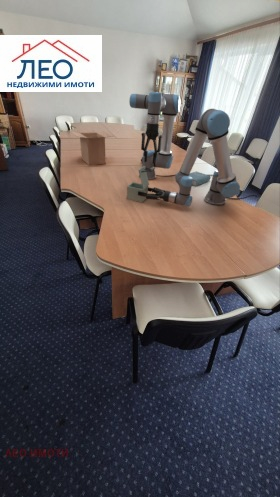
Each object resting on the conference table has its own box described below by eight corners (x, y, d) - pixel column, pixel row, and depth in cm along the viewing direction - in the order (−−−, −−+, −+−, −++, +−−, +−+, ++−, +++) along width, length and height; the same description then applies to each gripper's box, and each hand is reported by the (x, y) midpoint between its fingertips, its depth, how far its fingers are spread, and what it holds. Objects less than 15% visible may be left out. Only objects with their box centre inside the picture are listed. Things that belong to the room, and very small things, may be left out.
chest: (126, 198, 164) (127, 186, 159) (132, 194, 172) (132, 182, 166) (142, 202, 161) (143, 189, 155) (147, 197, 168) (148, 185, 163)
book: (195, 176, 216) (196, 171, 213) (209, 181, 207) (210, 176, 204) (181, 181, 202) (182, 175, 199) (195, 186, 194) (197, 180, 191)
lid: (138, 169, 149) (150, 167, 145) (143, 166, 156) (155, 164, 152) (142, 189, 155) (154, 187, 151) (147, 184, 163) (158, 183, 159)
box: (116, 165, 229) (116, 136, 213) (83, 168, 214) (80, 137, 198) (102, 154, 259) (101, 128, 243) (71, 156, 244) (68, 129, 228)
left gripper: (136, 121, 134) (135, 161, 148) (165, 125, 129) (160, 166, 143) (141, 120, 140) (139, 158, 153) (169, 124, 135) (164, 163, 149)
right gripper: (164, 208, 149) (134, 201, 156) (173, 196, 167) (145, 190, 173) (166, 197, 145) (135, 190, 151) (174, 186, 162) (146, 181, 168)
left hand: (149, 162), depth 148 cm, fingers open, 5 cm apart
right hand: (140, 190), depth 162 cm, fingers closed on chest, 10 cm apart
